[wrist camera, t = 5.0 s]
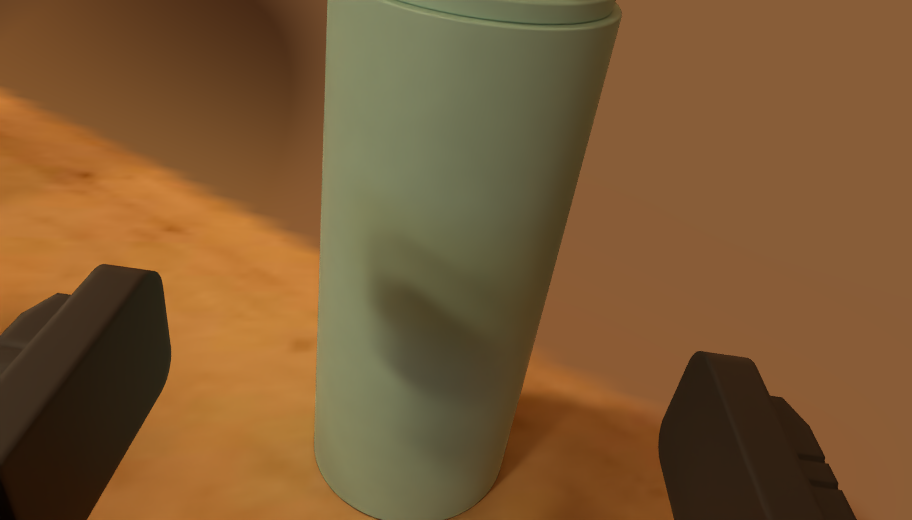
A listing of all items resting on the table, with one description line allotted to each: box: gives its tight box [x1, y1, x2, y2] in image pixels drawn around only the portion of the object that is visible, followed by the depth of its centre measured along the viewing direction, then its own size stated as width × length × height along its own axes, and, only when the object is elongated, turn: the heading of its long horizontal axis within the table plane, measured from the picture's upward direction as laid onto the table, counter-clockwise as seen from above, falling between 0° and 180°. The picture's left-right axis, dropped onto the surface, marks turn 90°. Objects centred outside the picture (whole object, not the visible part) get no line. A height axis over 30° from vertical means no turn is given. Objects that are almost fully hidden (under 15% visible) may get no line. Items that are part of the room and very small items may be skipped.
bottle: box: [314, 0, 622, 520], centre depth 16 cm, size 6×6×18 cm
